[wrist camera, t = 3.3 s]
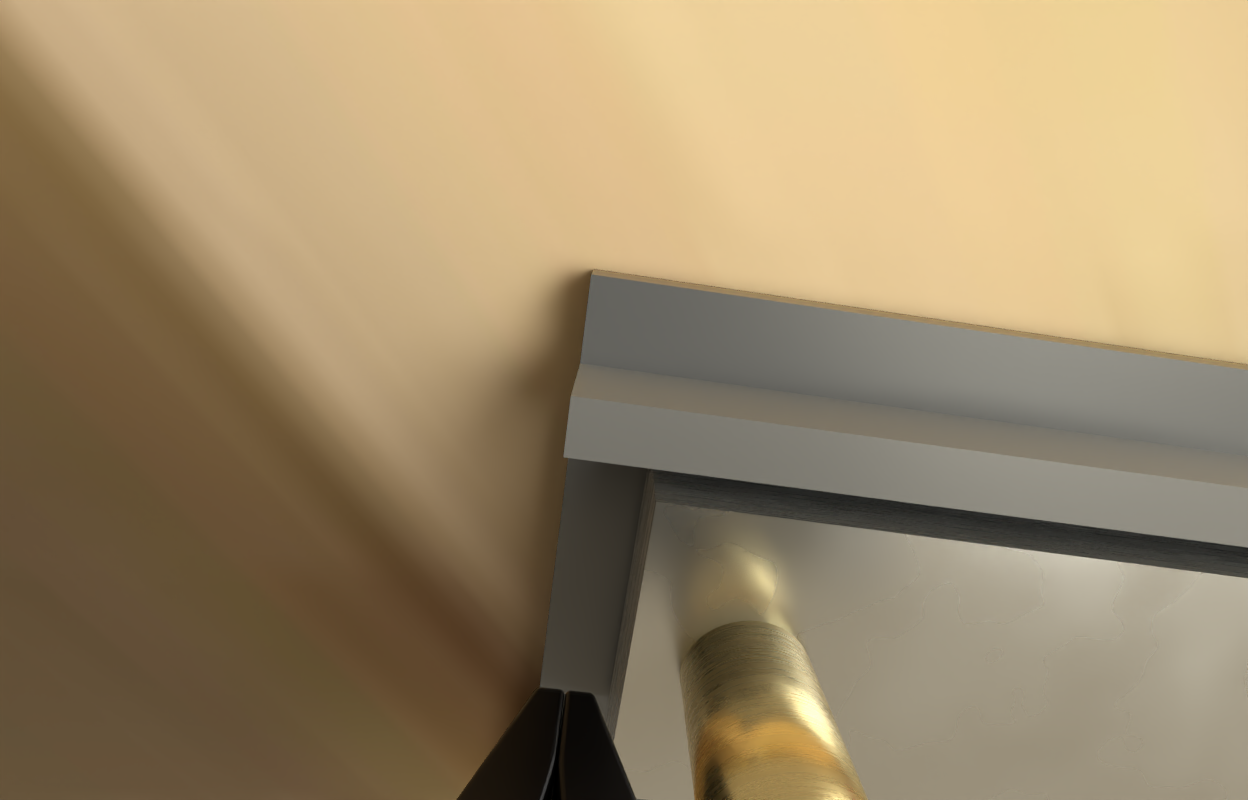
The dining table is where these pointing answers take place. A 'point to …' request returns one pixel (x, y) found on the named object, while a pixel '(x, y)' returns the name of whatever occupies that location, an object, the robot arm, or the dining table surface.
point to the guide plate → (871, 430)
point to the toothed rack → (921, 653)
